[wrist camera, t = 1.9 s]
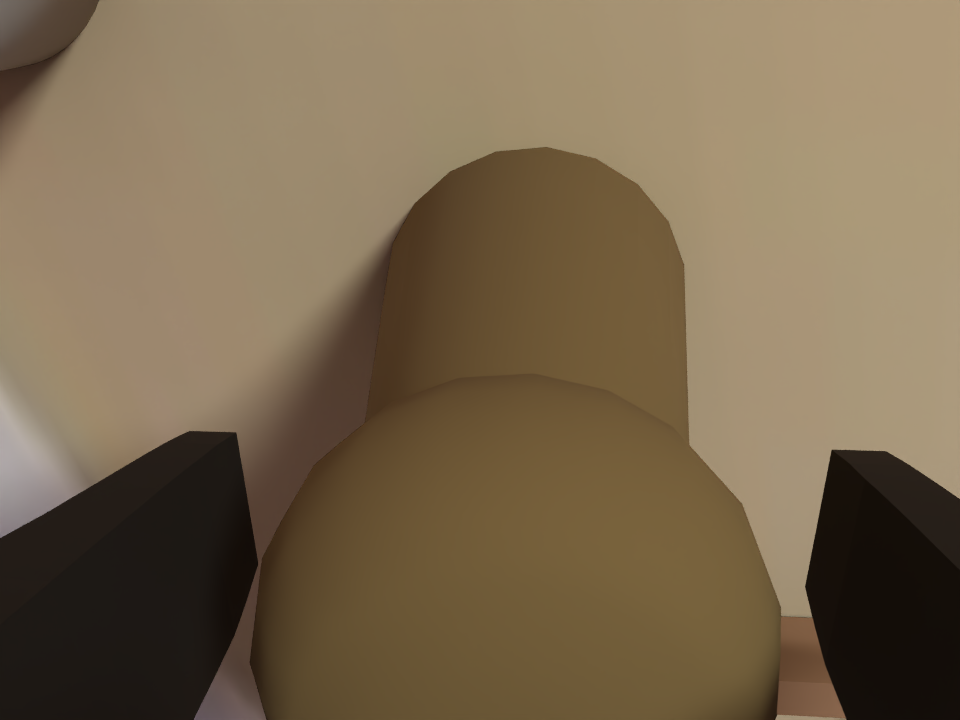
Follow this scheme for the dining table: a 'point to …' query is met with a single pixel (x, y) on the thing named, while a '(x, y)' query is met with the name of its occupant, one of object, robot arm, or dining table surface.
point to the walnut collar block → (804, 673)
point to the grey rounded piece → (39, 28)
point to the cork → (521, 484)
